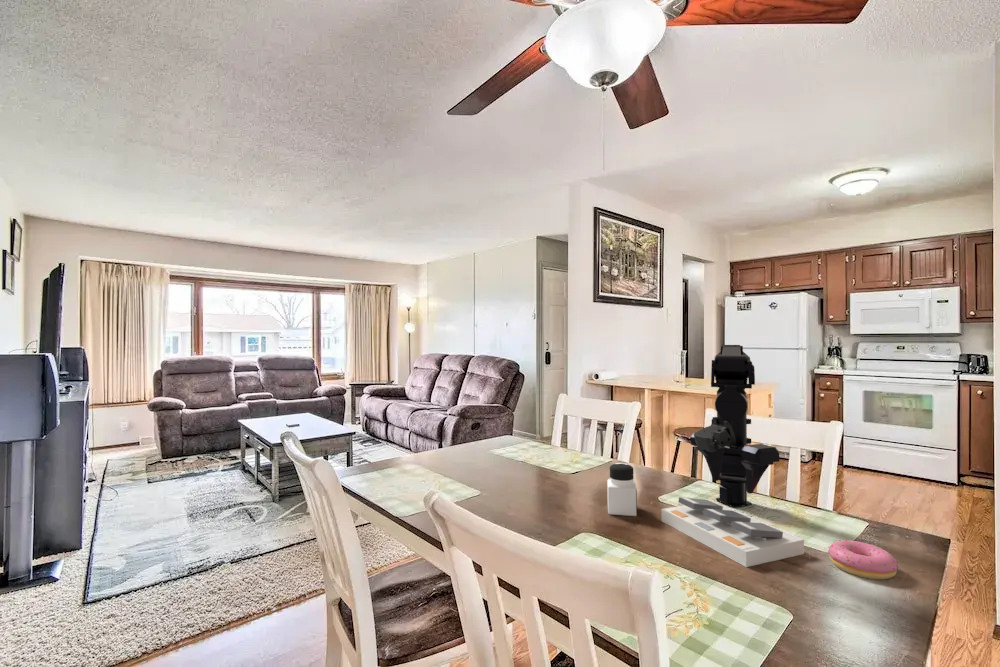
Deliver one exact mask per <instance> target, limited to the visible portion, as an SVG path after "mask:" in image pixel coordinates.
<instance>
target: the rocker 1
mask: <svg viewBox="0 0 1000 667" xmlns="http://www.w3.org/2000/svg"><path fill="white" fill-rule="evenodd" d="M711 501H712V500H709V499H701V498H700V499H699V498H690V497H680V496H679V498H678V503H679V504H681V505H682V506H683V505H685V506H688V507H690V508H692V509H697V510H703V508H705V509H717V510H723V506H724V505H723V506H720V505H721V504H720V505H718V504H719V503H718V504H716V503H717V502H716V503H713V502H714V501H713V502H711Z"/></svg>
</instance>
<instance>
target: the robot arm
mask: <svg viewBox="0 0 1000 667" xmlns="http://www.w3.org/2000/svg"><path fill="white" fill-rule="evenodd" d="M743 347H744V346H743V345H740V344H723V345H720V351H719V352H718V353H717V354H716V355H714V359H712V360H711V371H710V372H711V374H710V375H711V376H710V386H711V388H718V390H717V391H716V398H715V402H714V407H715V408H714V409H715V410H716V416H713V417H712V419H711V424H710V425H709V426H705V427H703V428H701V429H699V430H698V431H696V432H693V433H692V434H691V436H690V445H691V446H695V447H694V448H695V450H697V451H699V453H701V454H702V455H703V457H704V458H705V462H706V463H707V467H708V469H709V472H710V474H711V477H712V480H713V482H717V481H720V482H719V487H718V488H719V489H718V490H719V497H716V498H715V500H716V501H718V502H720V503H722V504H725V505H727V506H730V507H731V508H739V507H745V506H747V507H748V506H752V504H753V503H752V502H750V501H748V498H747V496H748V494H753V493H754V491H755V490H756V487H757V486H758V485H759V482H760V480H761V478H762V477H763V475H764V473H765V472H766V471H767V469H768V468H769V467H770V466H771V465H775V463H779V462H780V451H779V450H778V449H777V447H776V446H771V445H768V444H763V443H757V444H756V443H755V444H752V438H750V437H748V435H747V434H748V432H747V431H748V429H747V428H748V425H752V418H747V414H748V413H747V410H748V401H747V392H746V389H750V390H751V389H753V386H755V385H756V377H755V376H756V375H755V373H756V372H755V365H754V364H753V361H751V357H750V355H748V354H747V353H745V352H744V348H743ZM752 385H753V386H752Z"/></svg>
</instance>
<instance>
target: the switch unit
mask: <svg viewBox="0 0 1000 667" xmlns="http://www.w3.org/2000/svg"><path fill="white" fill-rule="evenodd" d="M710 501H711V502H713V503H716V504H718V505H720V506H723V510H729V511H735V512H737V513H739V514H742V515H744V516H746V517H749V518H751V521H750V522H752V523H763V524H765V525H768V526H770V527H772V528H775V529H777V530H779V531H782V532H783V536H782V538H778V537H761V536H750V535H748V534H746V533H743V532H741V531H739V530H737V529H735V528H733V527H731V522H720V521H718V520H715V519H713V518H711V517H709V516H707V515H705V514H703V510H697V509H692V508H690V507H688V506H685V505H683V504H682V505H678V506H671V507H665V508H661V511H660V512H661V517H660V518H661V522H662V523H665V524H666V525H668V526H670V527H671V528H673V529H675V530H677V531H679V532H681V533H682V534H685V535H686V536H688V537H690V538H691V539H693V540H695V541H697V542H699V543H701V544H703V545H704V546H706V547H707V548H708V547H709V549H712V550H714V551H715V552H717V553H719V554H721V555H723V556H725V557H727V558H729V559H731V560H732V561H733V562H736V563H738V564H740V565H741V566H743V567H745V568H748V567H754V566H757V565H761V564H767V563H770V562H775V561H776V562H777V561H780V560H783V559H787V558H793V557H796V556H801V555H804V554H805V539H803V538H801V537H798V536H796V535H793V534H792V533H788V532H786V531H784V530H783V529H780V528H777V527H776V526H773V525H770V524H767V523H766V522H762V521H761V520H758V519H756V518H754V517H752V516H748V515H747V514H744V513H741V512H739V511H736V510H734V509H732V508H730V507H728V506H725V505H723V504H721V503H717V502H715V501H713V500H710Z"/></svg>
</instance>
